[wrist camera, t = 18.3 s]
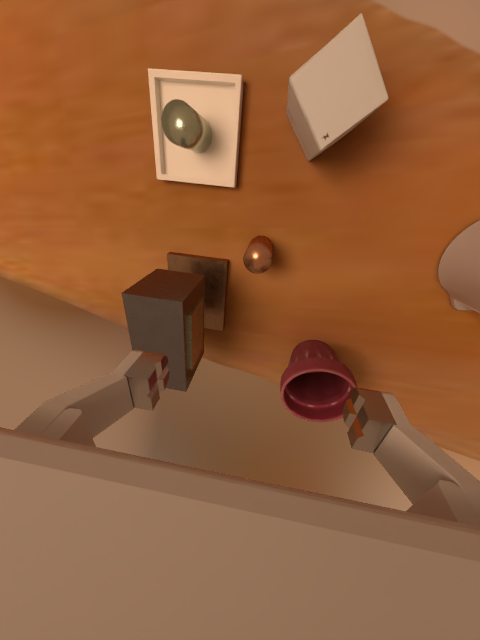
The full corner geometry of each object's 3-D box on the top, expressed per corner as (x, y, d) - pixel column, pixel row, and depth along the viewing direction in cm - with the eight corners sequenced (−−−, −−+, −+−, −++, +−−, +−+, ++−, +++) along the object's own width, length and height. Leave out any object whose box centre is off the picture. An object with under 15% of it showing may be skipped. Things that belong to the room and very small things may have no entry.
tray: (243, 81, 33) (241, 74, 31) (236, 187, 39) (234, 187, 37) (155, 75, 34) (147, 68, 32) (162, 179, 40) (156, 179, 38)
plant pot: (269, 360, 57) (266, 402, 46) (304, 319, 50) (310, 357, 39) (317, 386, 59) (325, 432, 48) (357, 349, 52) (378, 394, 41)
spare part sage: (212, 117, 34) (196, 100, 28) (211, 154, 37) (196, 147, 30) (183, 114, 35) (160, 97, 28) (184, 151, 37) (162, 144, 30)
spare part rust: (274, 237, 42) (273, 247, 36) (270, 261, 45) (269, 275, 38) (250, 234, 43) (244, 243, 36) (247, 258, 45) (242, 271, 38)
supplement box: (355, 128, 33) (391, 101, 23) (307, 163, 36) (319, 153, 25) (334, 69, 31) (364, 7, 20) (284, 112, 34) (286, 77, 23)
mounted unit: (228, 259, 46) (198, 304, 29) (224, 327, 54) (198, 393, 37) (170, 251, 47) (106, 290, 30) (174, 319, 55) (127, 380, 38)
